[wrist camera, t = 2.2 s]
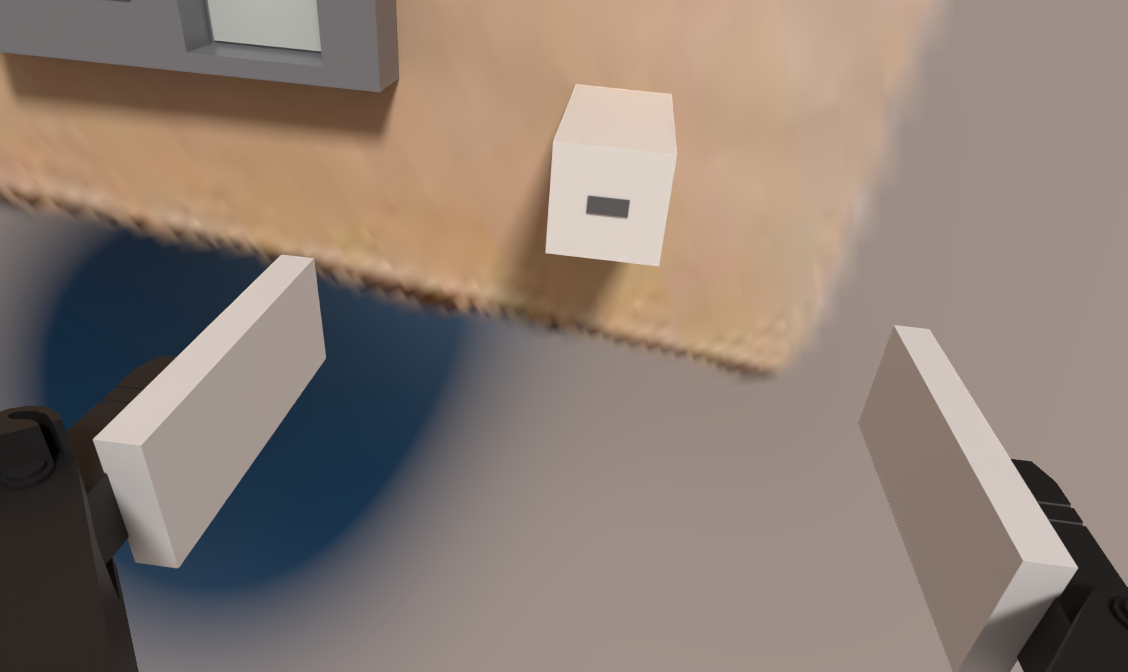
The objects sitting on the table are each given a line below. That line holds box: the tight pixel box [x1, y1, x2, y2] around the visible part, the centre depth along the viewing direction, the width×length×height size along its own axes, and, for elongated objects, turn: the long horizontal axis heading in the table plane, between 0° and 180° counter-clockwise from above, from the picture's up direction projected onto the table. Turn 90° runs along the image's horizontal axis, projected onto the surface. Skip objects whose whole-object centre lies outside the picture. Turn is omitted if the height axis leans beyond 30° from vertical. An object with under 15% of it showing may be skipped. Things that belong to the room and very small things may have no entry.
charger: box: [545, 84, 677, 266], centre depth 28 cm, size 4×4×8 cm
